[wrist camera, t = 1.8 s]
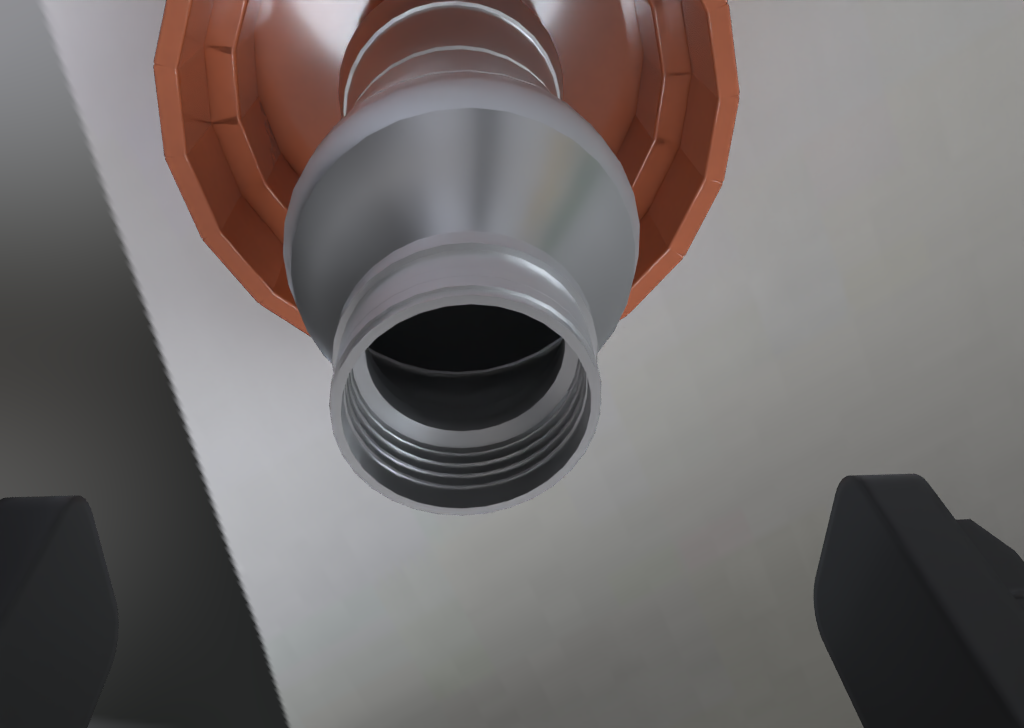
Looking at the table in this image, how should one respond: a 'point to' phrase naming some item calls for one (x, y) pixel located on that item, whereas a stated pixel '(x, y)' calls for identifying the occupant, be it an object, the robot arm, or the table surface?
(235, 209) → the bowl
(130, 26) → the table surface
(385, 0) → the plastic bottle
